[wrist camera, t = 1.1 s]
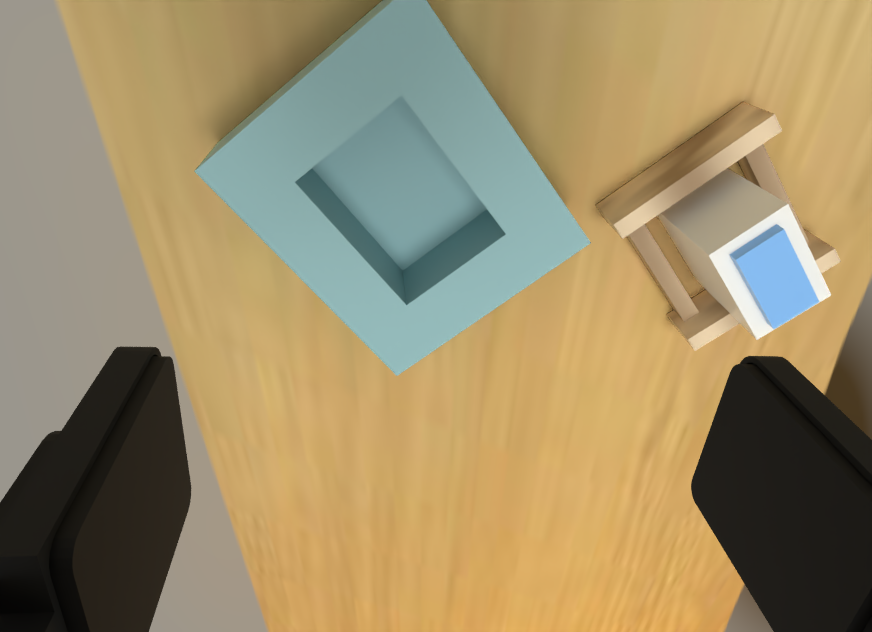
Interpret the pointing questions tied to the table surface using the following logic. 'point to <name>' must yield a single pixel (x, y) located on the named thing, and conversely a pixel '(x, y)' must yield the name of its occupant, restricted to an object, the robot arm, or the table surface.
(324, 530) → the table surface
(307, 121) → the block
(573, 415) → the table surface
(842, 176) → the table surface
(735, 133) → the wooden frame
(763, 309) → the white box blue label
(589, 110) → the table surface
